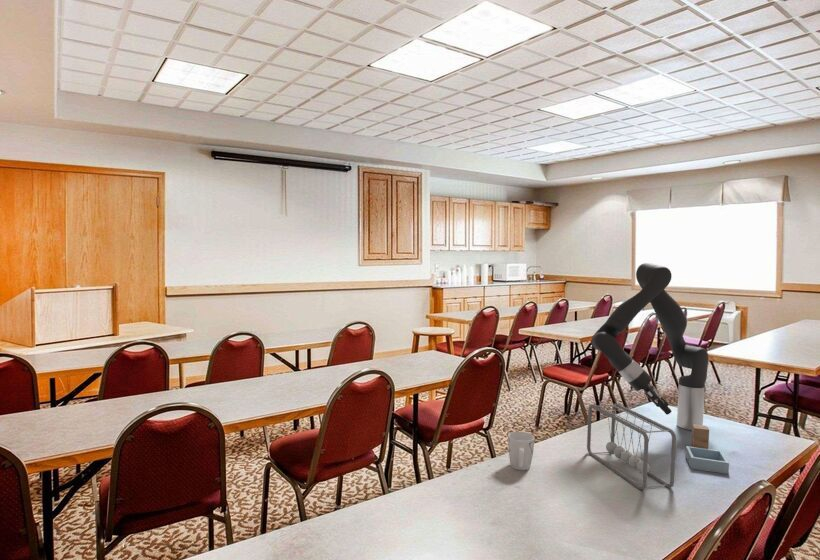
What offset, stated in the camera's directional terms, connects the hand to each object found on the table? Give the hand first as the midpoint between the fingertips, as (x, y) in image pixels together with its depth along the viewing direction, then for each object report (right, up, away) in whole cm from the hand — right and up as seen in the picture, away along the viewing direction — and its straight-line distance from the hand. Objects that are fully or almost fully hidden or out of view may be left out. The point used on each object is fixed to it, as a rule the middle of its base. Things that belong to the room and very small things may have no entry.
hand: (668, 409), depth 178 cm
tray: (+5, -15, -14) cm, 21 cm away
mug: (-58, -14, -20) cm, 63 cm away
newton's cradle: (-24, -15, -19) cm, 34 cm away
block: (+9, -14, -3) cm, 17 cm away
